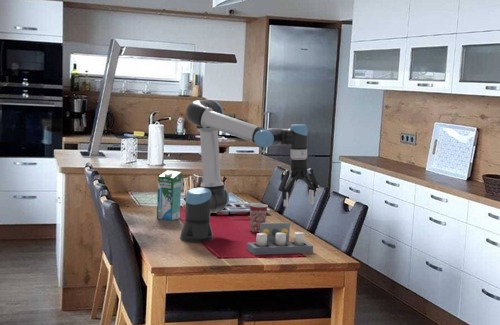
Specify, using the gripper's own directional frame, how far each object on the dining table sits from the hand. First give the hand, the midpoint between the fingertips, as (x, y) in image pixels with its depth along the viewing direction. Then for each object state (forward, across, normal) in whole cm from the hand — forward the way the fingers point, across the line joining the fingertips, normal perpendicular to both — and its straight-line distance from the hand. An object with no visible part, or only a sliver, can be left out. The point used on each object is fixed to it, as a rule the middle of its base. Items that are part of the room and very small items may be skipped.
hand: (298, 205), depth 302 cm
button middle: (+16, -12, -3) cm, 20 cm away
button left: (+16, -20, -2) cm, 26 cm away
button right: (+17, -3, -4) cm, 17 cm away
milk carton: (+15, -33, +76) cm, 84 cm away
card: (+20, -11, +4) cm, 23 cm away
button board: (+20, -12, -3) cm, 23 cm away
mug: (+18, 0, +38) cm, 43 cm away
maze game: (+17, +11, +84) cm, 86 cm away
